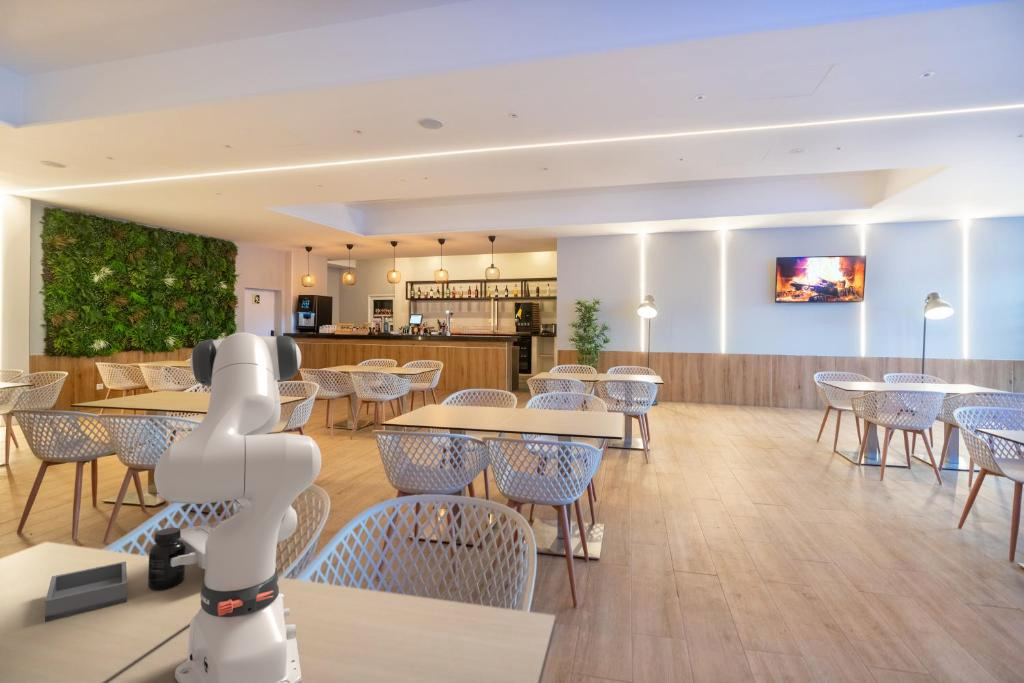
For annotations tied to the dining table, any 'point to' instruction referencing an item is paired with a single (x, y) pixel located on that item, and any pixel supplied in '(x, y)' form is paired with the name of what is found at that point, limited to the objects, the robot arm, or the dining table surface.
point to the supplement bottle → (165, 560)
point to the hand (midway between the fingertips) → (163, 556)
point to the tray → (86, 590)
